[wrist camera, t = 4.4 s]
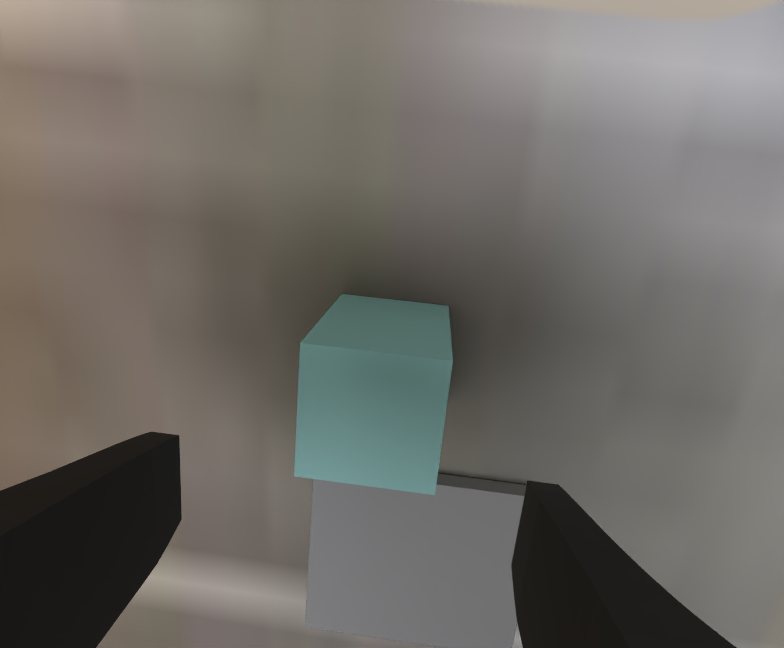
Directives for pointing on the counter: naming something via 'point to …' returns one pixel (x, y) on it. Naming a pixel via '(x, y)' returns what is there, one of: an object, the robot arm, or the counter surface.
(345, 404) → the block
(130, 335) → the counter surface
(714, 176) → the counter surface
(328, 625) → the pad
